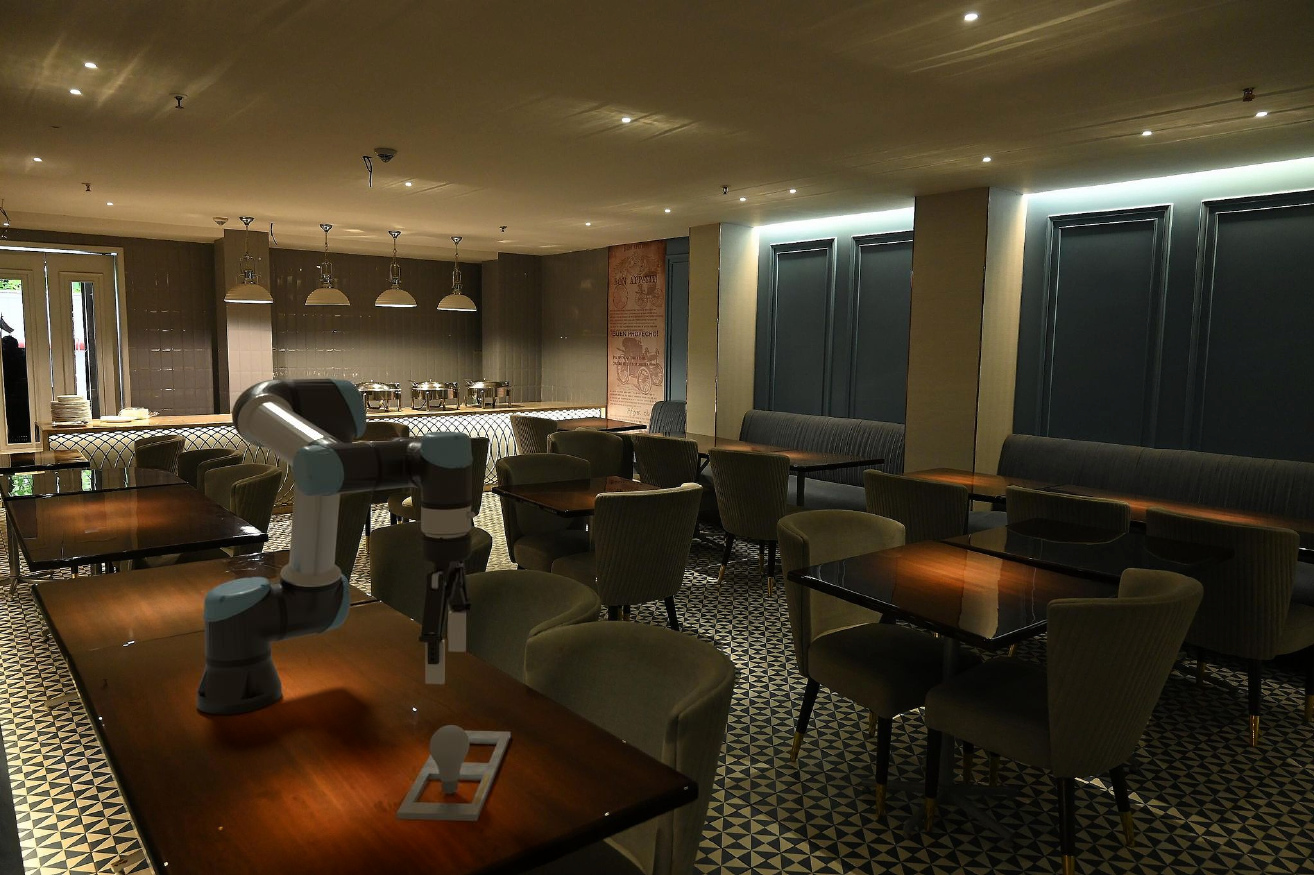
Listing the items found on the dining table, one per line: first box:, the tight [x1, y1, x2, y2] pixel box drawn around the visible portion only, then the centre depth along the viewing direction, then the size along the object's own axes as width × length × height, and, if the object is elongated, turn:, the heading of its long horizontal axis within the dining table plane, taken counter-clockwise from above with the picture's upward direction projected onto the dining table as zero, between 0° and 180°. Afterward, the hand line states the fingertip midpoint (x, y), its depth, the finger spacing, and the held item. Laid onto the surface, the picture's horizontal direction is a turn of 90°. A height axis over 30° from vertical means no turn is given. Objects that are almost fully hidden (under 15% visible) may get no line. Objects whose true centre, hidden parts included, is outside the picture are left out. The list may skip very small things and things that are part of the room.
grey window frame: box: [396, 730, 511, 822], centre depth 142 cm, size 12×28×1 cm, turn 0°
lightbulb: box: [429, 724, 470, 795], centre depth 135 cm, size 6×6×11 cm
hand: (446, 666), depth 134 cm, fingers open, 13 cm apart
